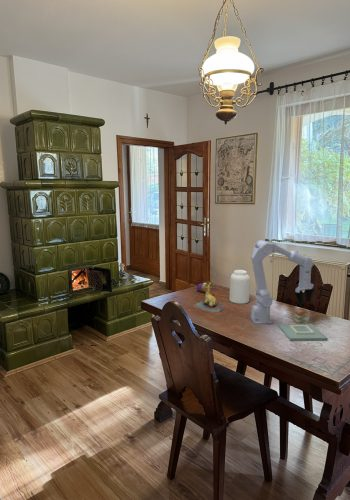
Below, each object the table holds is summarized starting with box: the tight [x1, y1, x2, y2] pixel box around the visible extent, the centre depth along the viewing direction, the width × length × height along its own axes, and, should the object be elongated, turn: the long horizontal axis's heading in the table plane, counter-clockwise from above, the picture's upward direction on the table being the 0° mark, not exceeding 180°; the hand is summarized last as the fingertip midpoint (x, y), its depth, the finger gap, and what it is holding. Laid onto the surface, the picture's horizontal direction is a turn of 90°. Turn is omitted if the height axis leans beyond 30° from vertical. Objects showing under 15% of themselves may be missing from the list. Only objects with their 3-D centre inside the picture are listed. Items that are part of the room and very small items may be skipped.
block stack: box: [294, 307, 309, 324], centre depth 184 cm, size 5×5×8 cm
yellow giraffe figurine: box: [194, 281, 226, 313], centre depth 209 cm, size 16×18×16 cm
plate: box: [277, 323, 329, 342], centre depth 172 cm, size 18×18×2 cm
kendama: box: [196, 283, 216, 298], centre depth 235 cm, size 6×6×20 cm
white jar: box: [228, 269, 251, 304], centre depth 220 cm, size 12×12×20 cm
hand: (304, 302), depth 189 cm, fingers open, 7 cm apart
